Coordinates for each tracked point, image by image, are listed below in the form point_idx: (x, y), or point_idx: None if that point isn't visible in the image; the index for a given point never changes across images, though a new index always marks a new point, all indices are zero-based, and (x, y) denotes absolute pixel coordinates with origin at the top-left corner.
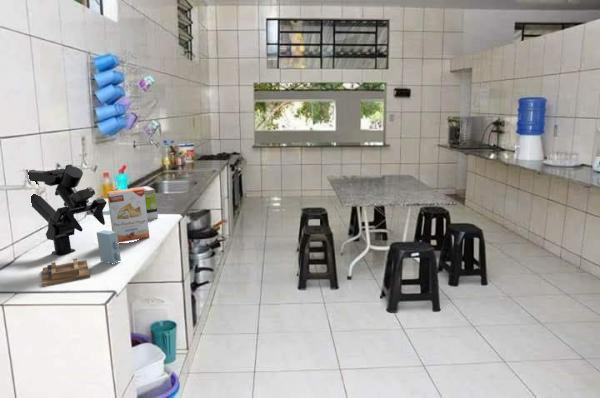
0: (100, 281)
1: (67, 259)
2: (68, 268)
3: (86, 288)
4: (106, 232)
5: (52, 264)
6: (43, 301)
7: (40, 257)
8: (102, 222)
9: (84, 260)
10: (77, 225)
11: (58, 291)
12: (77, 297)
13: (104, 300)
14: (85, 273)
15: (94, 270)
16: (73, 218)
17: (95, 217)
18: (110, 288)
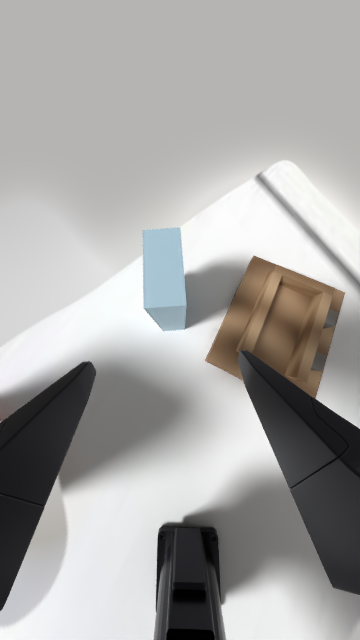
0: (249, 225)
1: (220, 448)
2: (266, 336)
3: (281, 218)
4: (165, 262)
5: (309, 363)
6: (353, 227)
7: (263, 594)
8: (85, 379)
9: (212, 359)
10: (279, 373)
11: (321, 246)
12: (306, 198)
13: (283, 160)
14: (257, 268)
15: (225, 288)
16: (355, 448)
17: (39, 511)
18: (255, 188)
